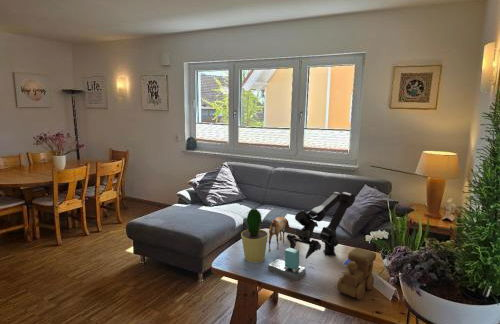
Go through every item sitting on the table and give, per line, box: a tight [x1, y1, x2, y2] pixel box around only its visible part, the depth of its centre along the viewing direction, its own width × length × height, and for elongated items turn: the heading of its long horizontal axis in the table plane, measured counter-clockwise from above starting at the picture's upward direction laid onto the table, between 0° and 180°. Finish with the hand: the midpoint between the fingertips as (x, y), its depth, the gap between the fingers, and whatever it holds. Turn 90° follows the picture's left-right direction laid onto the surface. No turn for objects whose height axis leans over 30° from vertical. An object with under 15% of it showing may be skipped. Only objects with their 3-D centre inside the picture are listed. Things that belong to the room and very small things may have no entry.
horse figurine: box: [268, 216, 293, 253], centre depth 197 cm, size 31×8×21 cm, turn 152°
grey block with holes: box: [267, 258, 307, 281], centre depth 166 cm, size 9×18×3 cm, turn 52°
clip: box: [284, 246, 300, 272], centre depth 163 cm, size 4×6×13 cm, turn 52°
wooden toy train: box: [336, 247, 377, 300], centre depth 147 cm, size 20×11×17 cm, turn 137°
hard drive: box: [342, 258, 350, 268], centre depth 174 cm, size 2×8×12 cm
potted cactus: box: [240, 208, 269, 263], centre depth 179 cm, size 15×15×30 cm
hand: (298, 256), depth 167 cm, fingers open, 9 cm apart
